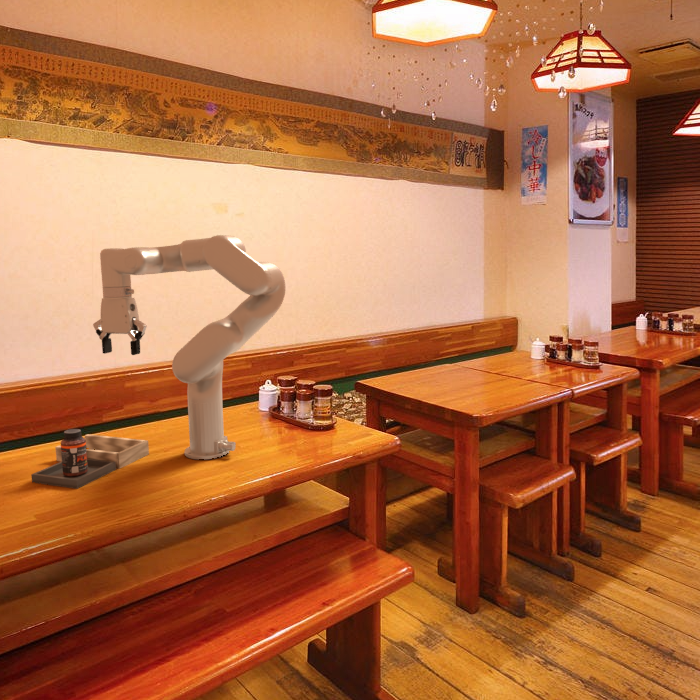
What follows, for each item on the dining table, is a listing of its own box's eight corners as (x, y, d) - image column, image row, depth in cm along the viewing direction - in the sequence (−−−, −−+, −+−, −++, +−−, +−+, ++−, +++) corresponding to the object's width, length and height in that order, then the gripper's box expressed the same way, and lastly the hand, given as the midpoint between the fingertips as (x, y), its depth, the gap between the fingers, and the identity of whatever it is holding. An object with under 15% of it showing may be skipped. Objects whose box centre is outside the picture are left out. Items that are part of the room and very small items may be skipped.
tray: (116, 469, 163) (115, 461, 162) (77, 488, 150) (76, 480, 149) (73, 464, 167) (72, 456, 167) (32, 482, 154) (31, 474, 154)
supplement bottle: (81, 477, 155) (78, 434, 154) (58, 477, 156) (54, 434, 154) (92, 469, 161) (89, 427, 160) (69, 469, 161) (66, 427, 160)
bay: (148, 454, 175) (148, 440, 174) (119, 468, 163) (118, 454, 163) (88, 447, 182) (87, 434, 181) (56, 460, 170) (55, 446, 169)
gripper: (151, 292, 173) (155, 352, 176) (101, 291, 178) (105, 350, 181) (134, 294, 166) (138, 357, 169) (82, 293, 171) (87, 354, 174)
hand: (121, 353), depth 175 cm, fingers open, 9 cm apart
